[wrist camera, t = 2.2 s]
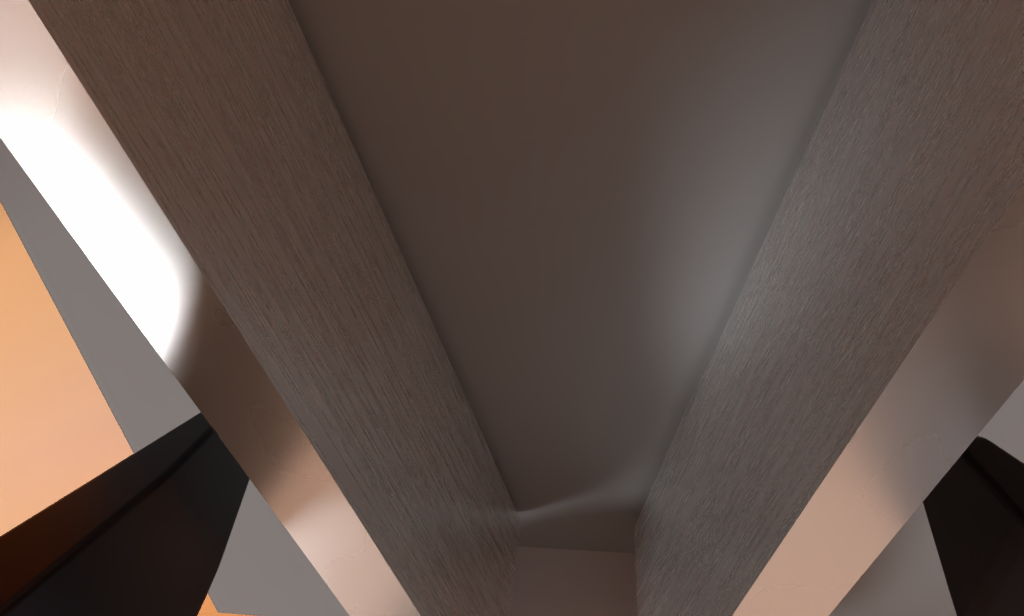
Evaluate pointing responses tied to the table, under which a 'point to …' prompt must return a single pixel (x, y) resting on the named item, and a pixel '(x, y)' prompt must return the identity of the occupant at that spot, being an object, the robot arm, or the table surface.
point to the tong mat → (542, 258)
